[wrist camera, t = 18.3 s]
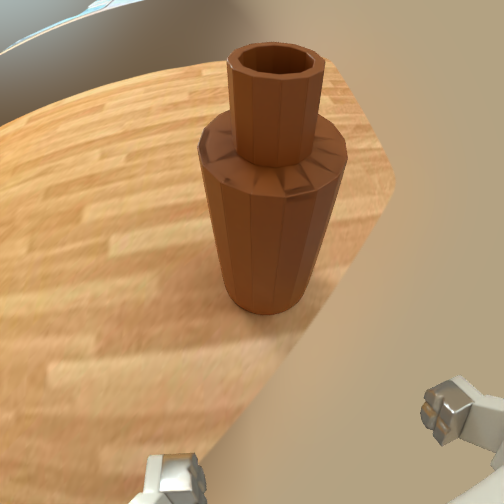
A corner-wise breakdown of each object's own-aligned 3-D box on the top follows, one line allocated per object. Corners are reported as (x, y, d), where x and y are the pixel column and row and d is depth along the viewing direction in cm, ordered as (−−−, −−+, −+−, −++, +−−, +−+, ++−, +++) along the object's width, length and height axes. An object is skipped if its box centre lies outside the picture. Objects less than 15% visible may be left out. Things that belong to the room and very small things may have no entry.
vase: (319, 300, 23) (403, 97, 8) (236, 325, 22) (200, 120, 7) (290, 231, 26) (317, 28, 11) (215, 251, 25) (176, 42, 11)
